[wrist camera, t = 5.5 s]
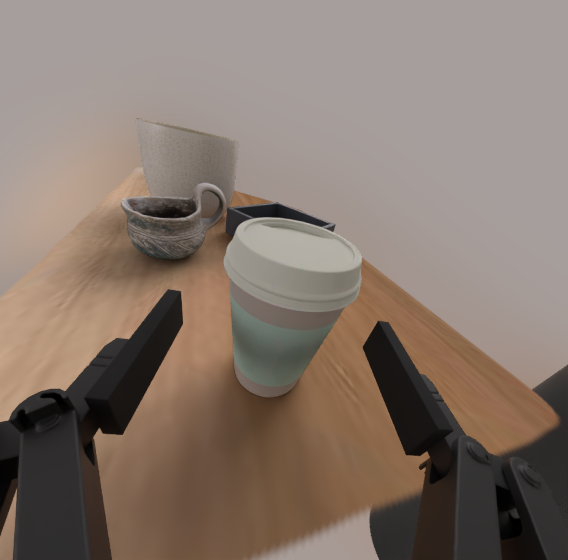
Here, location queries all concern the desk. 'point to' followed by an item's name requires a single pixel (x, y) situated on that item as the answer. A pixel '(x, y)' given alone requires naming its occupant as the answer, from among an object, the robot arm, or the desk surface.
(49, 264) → the desk surface
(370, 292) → the desk surface
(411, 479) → the desk surface
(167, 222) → the mug
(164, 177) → the planter
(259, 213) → the bin
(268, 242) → the coffee cup
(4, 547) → the desk surface
